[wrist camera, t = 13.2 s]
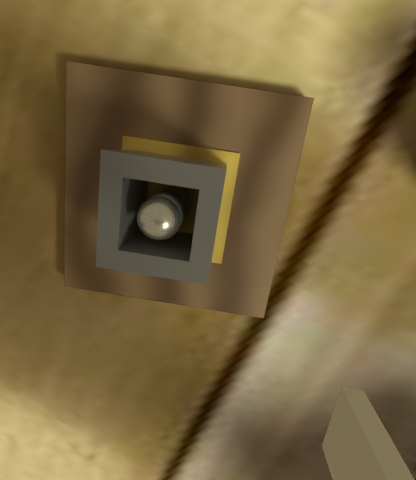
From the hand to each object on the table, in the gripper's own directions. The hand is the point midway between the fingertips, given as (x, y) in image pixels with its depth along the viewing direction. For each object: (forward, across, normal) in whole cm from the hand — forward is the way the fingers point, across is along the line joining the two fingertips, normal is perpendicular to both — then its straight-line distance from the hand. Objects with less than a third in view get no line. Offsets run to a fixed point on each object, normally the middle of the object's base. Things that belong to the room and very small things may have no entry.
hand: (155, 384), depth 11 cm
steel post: (+18, +3, -4) cm, 18 cm away
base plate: (+19, +3, -4) cm, 20 cm away
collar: (+17, +3, -4) cm, 18 cm away
